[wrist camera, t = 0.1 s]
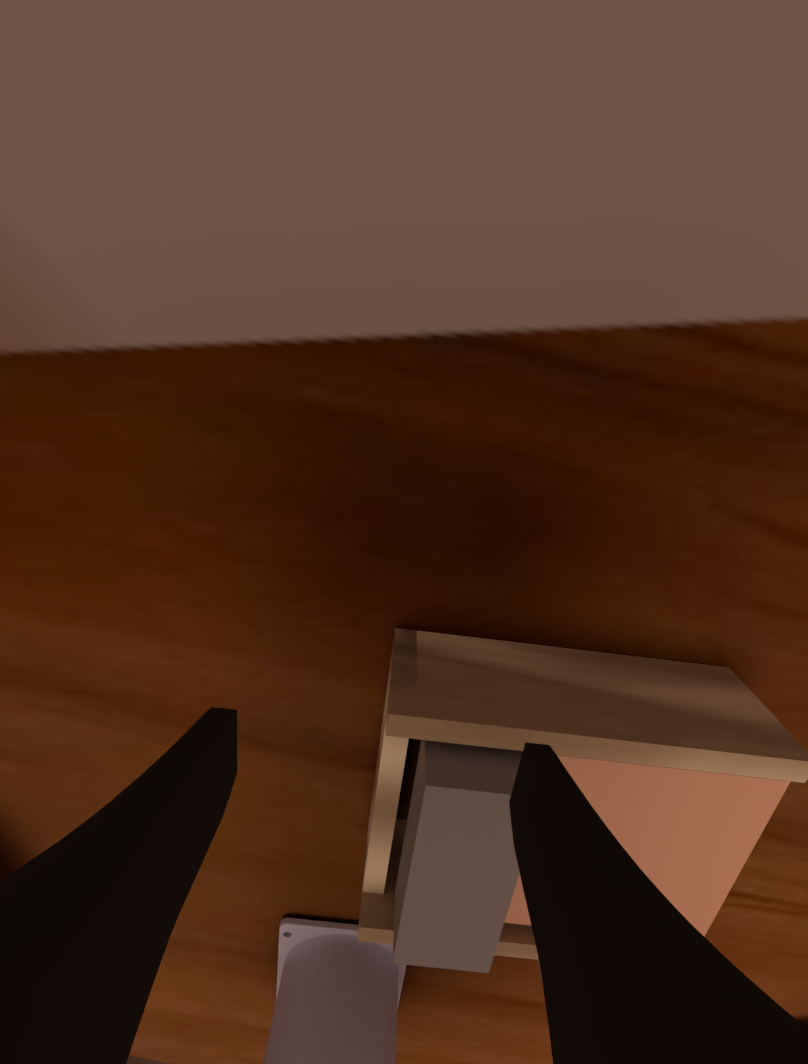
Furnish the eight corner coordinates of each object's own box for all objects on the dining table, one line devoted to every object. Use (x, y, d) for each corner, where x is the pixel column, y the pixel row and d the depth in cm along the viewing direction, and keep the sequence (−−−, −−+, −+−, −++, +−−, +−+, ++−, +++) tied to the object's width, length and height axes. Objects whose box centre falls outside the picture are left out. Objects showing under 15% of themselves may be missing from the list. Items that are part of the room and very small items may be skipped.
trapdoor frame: (644, 858, 28) (695, 975, 23) (368, 828, 28) (356, 941, 23) (729, 667, 23) (816, 762, 18) (394, 627, 23) (388, 713, 18)
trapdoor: (689, 919, 24) (725, 997, 21) (395, 888, 24) (392, 963, 21) (773, 760, 20) (829, 830, 17) (424, 721, 20) (425, 785, 17)
